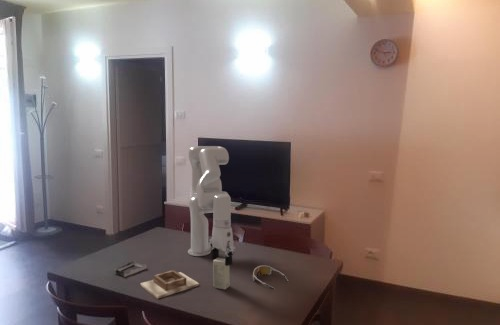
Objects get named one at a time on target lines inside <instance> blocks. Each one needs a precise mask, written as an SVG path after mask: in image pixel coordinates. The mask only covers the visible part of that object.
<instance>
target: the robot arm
mask: <svg viewBox="0 0 500 325" xmlns="http://www.w3.org/2000/svg"><path fill="white" fill-rule="evenodd" d="M188 159H189V163H190V166H191V171H192V172H191V188H192V193H194V194H196V195H195V196H192V197H191V198H190V199H189V200H188V207H189V212H190V213H189V214H190V215H189V216H190V248H189V249H188V250H187V254H188V255H190V256H193V257H194V256H195V257H203V256H208V255H210V254H211V259H212V261H213V260H215V259H216V258H220V257H219V255H220V254H219V252H220V251H222V252H224V253H225V257H224V259H225V265H226V266H228V265H229V266H231V265H233V256H234V254H235V251H236V246H234V235H233V229H232V228H233V227H232V226H231V225H232V224H231V222H232V219H231V216H232V214H231V213H232V212H231V211H232V210H231V209H232V208H231V206H232V205H231V204H232V199H231V196H230V195H229V192H227V191H223V190H222V189H223V187H222V180H221V178H220V177H221V174H222V173H221V168H220V165H221V166H222V165H227V164H228V163H229V160H230V156H229V152H228V150H227V149H226V148H225V147H223V146H219V145H205V146H203V145H197V146H192V147H190V148H189V150H188ZM212 213H213V214H212ZM205 214H212V217H213V218H212V220H213V221H212V233H211V238H209V220H208V217H206V215H205Z"/></svg>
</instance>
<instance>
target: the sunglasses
mask: <svg viewBox="0 0 500 325" xmlns="http://www.w3.org/2000/svg"><path fill="white" fill-rule="evenodd" d="M272 271H273V272H276V273H279V274H280V275H282V276H283V277H284V278H285V280H286V282H287V281H289V280H288V277H287V276H286V275H285V274H284V273H282V272H281V271H280V270H277V269H276V268H274V267H271V266H269V265H257V267H255V268H254V269H253V272H252V281H253V282H255V281H258V282H260V283H261V284H263V285H265V286H266V287H269V288H270V289H272V288H274V287H273V286H272V285H269V284H268V283H266V282H263V280H260V279H259V278H258V277H259V275H260V276H263V274H265V275H266V274H267V275H272Z"/></svg>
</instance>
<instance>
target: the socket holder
mask: <svg viewBox="0 0 500 325" xmlns="http://www.w3.org/2000/svg"><path fill="white" fill-rule="evenodd" d="M152 277H153V279H151V280H150V279H149V280H147V281H143V282H140V286H141V287H142V288H143V289H144V290H146V292H147V293H149V294H150V295H152V296H153V297H154V298H156V299H157V300H159V299H161V298H164V297H167V296H171V295H174V294H177V293H180V292H183V291H186V290H189V289H193V288H195V287H198V286H200V283H199V282H198V281H196V280H194V279H193V278H191V277H189V276H188V275H186V274H185V273H183V272H182V271H180V272H179V271H176V270H174V269H173V270H168V271H166V272H162V273H158V274H154V275H153V276H152Z"/></svg>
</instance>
